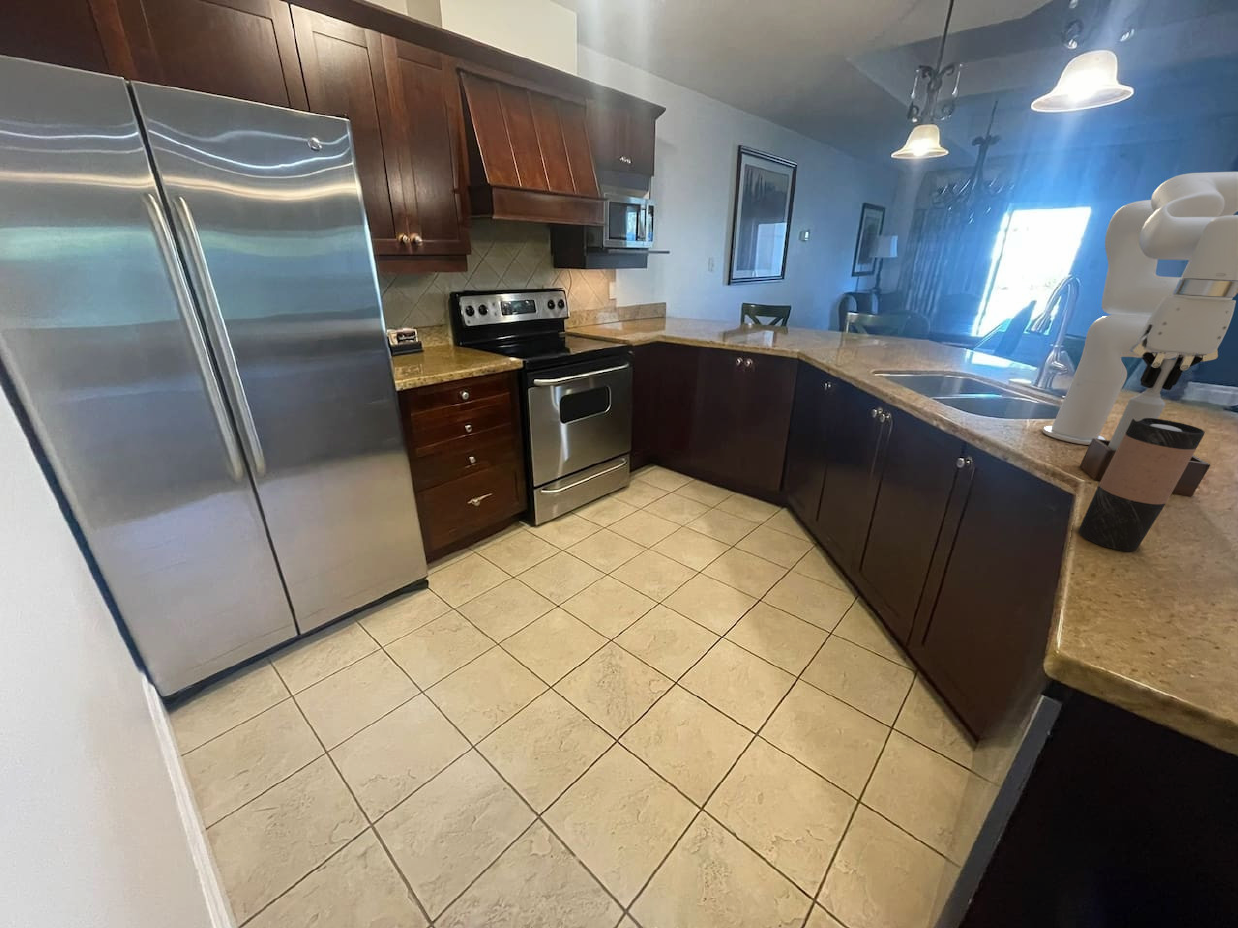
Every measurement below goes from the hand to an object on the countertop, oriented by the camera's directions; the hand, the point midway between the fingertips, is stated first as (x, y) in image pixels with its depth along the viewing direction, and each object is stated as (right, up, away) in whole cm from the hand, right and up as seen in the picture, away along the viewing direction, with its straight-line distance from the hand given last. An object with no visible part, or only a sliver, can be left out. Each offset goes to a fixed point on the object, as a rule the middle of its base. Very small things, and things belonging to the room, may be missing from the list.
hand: (1155, 386), depth 95 cm
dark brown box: (+2, -19, +6) cm, 20 cm away
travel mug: (-27, -28, -17) cm, 43 cm away
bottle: (-1, -18, +8) cm, 20 cm away
